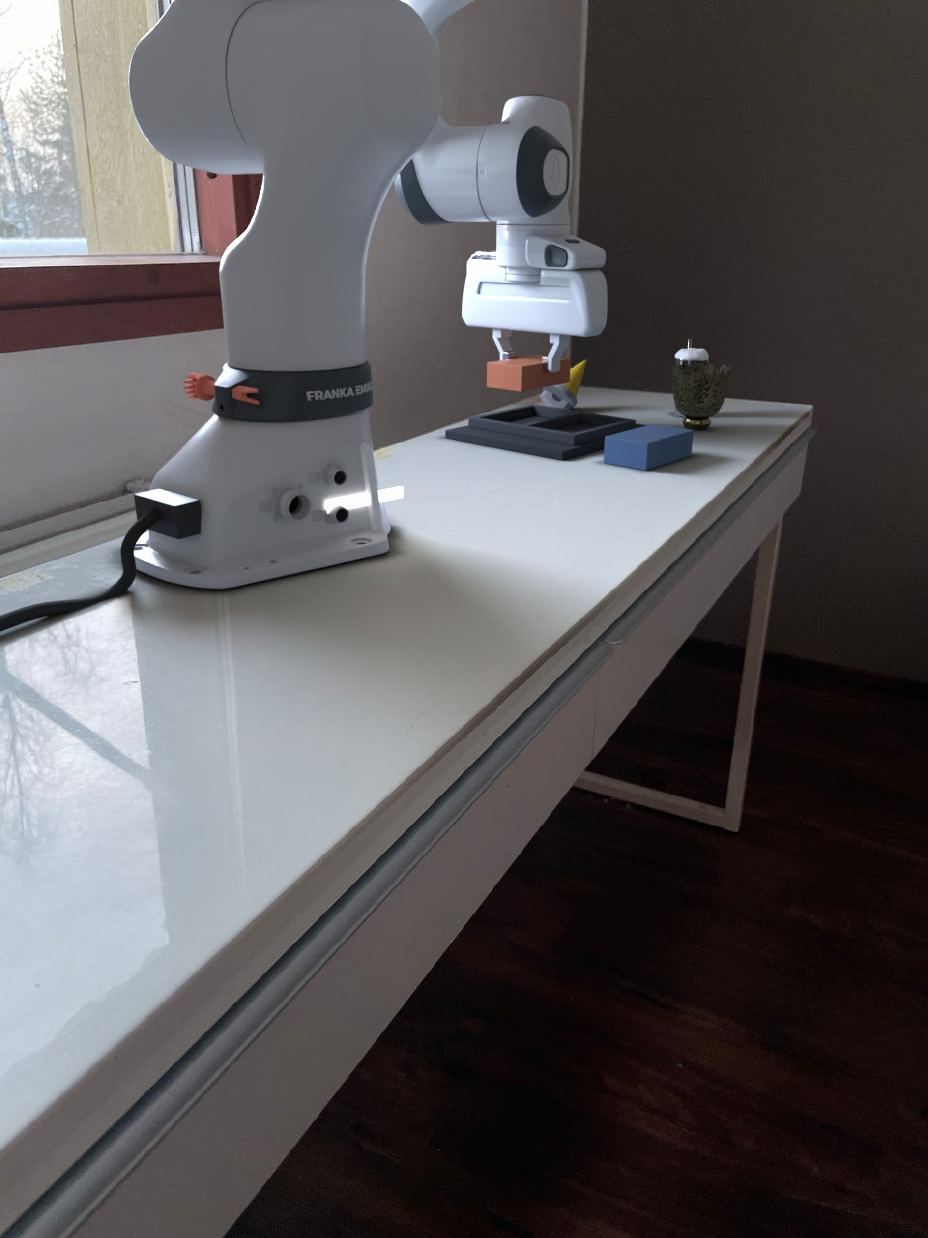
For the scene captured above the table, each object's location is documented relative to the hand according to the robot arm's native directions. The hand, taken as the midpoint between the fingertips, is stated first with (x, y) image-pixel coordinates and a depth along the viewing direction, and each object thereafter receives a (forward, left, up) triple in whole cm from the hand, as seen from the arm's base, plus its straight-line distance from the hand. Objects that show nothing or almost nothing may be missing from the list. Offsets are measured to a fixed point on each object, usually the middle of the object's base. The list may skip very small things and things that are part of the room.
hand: (529, 368), depth 120 cm
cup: (+17, -15, -8) cm, 24 cm away
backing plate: (0, -4, -8) cm, 9 cm away
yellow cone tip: (+16, +6, -8) cm, 19 cm away
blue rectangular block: (-3, -20, -8) cm, 22 cm away
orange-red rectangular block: (0, 0, -2) cm, 2 cm away
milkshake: (+25, -9, -8) cm, 28 cm away
